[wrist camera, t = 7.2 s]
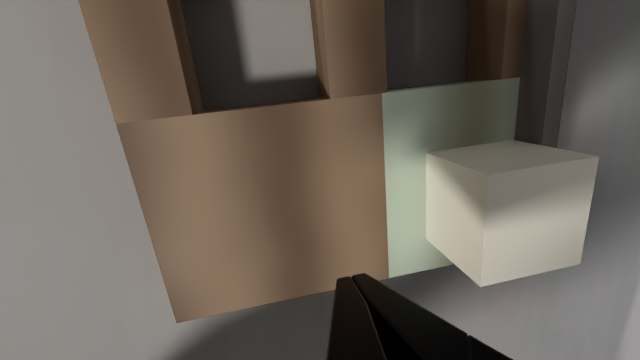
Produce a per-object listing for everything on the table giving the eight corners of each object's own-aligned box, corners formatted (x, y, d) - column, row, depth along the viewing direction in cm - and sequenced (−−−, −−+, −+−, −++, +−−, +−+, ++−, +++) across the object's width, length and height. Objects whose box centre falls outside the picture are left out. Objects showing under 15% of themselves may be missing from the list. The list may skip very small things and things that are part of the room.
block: (425, 238, 15) (480, 287, 11) (426, 152, 14) (488, 174, 10) (504, 223, 16) (580, 264, 12) (511, 139, 14) (599, 156, 11)
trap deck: (189, 289, 16) (166, 349, 12) (92, -59, 11) (9, -134, 8) (484, 231, 19) (540, 265, 15) (505, -72, 14) (594, -132, 10)
